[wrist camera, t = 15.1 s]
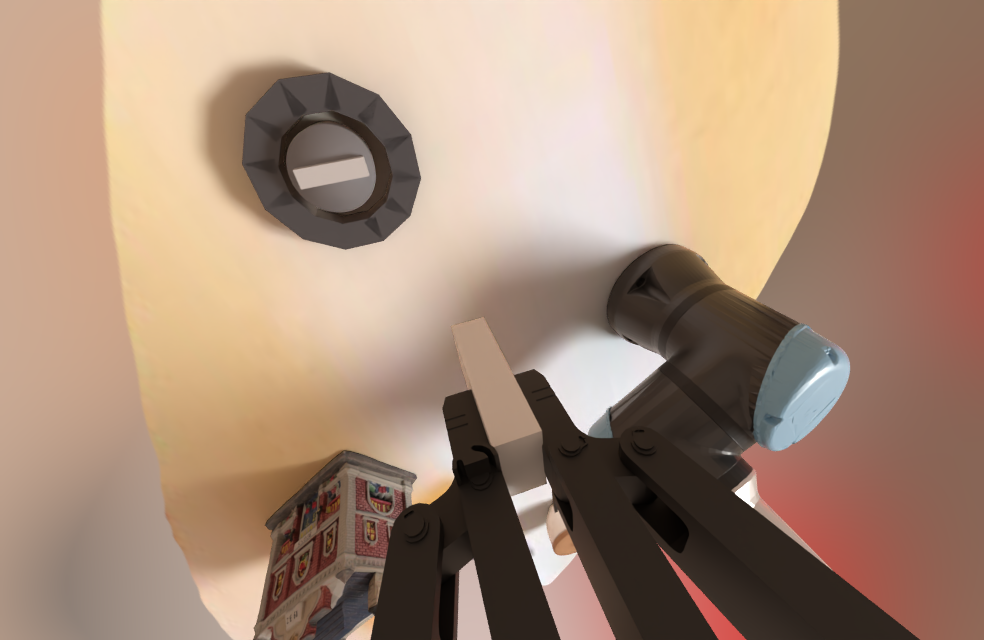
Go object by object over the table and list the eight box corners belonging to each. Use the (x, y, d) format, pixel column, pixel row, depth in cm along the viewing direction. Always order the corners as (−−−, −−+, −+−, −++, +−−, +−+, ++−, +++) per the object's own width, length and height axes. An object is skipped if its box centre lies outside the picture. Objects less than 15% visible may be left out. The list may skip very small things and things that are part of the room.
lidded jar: (534, 524, 79) (552, 569, 72) (544, 497, 74) (565, 542, 66) (575, 513, 83) (596, 555, 75) (587, 486, 77) (611, 528, 70)
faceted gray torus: (392, 65, 28) (394, 63, 26) (428, 221, 35) (432, 229, 33) (216, 89, 26) (204, 89, 24) (295, 251, 33) (291, 261, 31)
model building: (344, 446, 49) (336, 620, 33) (419, 473, 57) (442, 623, 41) (263, 522, 52) (220, 714, 36) (345, 537, 60) (340, 699, 44)
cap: (360, 115, 29) (360, 118, 25) (383, 192, 33) (386, 205, 29) (280, 128, 28) (267, 134, 24) (313, 207, 32) (306, 222, 28)
